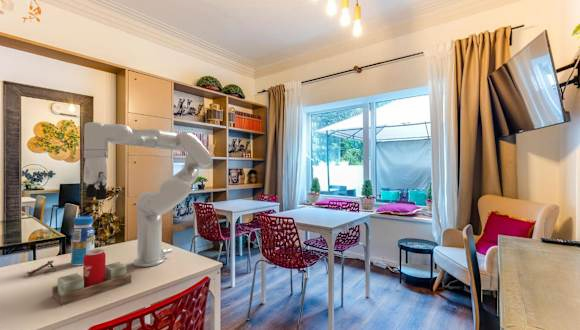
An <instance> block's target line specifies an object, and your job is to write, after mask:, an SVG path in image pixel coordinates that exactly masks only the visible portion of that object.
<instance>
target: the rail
mask: <svg viewBox="0 0 580 330" xmlns="http://www.w3.org/2000/svg"><path fill="white" fill-rule="evenodd" d="M127 269H128V268H127V265H125V264H124V263H121V262H120V261H116V262H113V263H109V264H105V282H102V283H99V284H95V285H92V286H89V287H86V288H85V287H84V278H83V276H81V274H79V273H77V272H75V273H72V274H68V275H63V276H60V277H57V285H55V286H52V297H53V299H55V300H56V301H57V303H58V304H59V305H60V306H66V305H69V304H72V303H74V302H77V301H81V300H83V299H86V298H89V297H92V296H95V295H98V294H101V293H104V292H107V291H109V290H113V289H116V288H119V287H122V286H125V285H128V284H130V283H132V273H128V274H127Z"/></svg>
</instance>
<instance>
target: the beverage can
mask: <svg viewBox="0 0 580 330" xmlns="http://www.w3.org/2000/svg"><path fill="white" fill-rule="evenodd" d="M105 265H106V252H105V251H104V249H102V248H100V249H94V250H91V251H88V252H86V253H85V256H84V258H83V265H82V266H83V267H82V268H83V271H82V277H83V278H84V287H85V288H86V287H89V286H92V285H95V284H99V283H102V282H105Z"/></svg>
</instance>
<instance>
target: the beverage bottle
mask: <svg viewBox="0 0 580 330" xmlns="http://www.w3.org/2000/svg"><path fill="white" fill-rule="evenodd" d="M93 224H94V216H92V215H81V216H77V217H74V218H73V226H74V228H73V229H72V230H71V233H70V236H71V238H70V243H71V245H70V246H71V253H70V254H71V258H70V264H71V265H72V266H77V267H78V266H79V267H80V266H83V258H84V256H85V253H86V252H88V251H91V250H95V240H96V235H95V233H96V230H95V228H94V226H93Z"/></svg>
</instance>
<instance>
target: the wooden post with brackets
mask: <svg viewBox="0 0 580 330" xmlns="http://www.w3.org/2000/svg"><path fill="white" fill-rule="evenodd" d="M54 261H55V260H48V261H47V262H46V264H44V265H41V266H39V267H37V268H36V269H34V270H31V271H27V272H26V274H27V276H28V277H31V276H32V275H34V274H35V273H36V272H39V271H41V270H43V269H44V268H46V267H48V269H46V270H45V271H43V274H48V273H49V272H51V271H52V270H53V271H56V268H55V266H54V265H53V263H54Z"/></svg>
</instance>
